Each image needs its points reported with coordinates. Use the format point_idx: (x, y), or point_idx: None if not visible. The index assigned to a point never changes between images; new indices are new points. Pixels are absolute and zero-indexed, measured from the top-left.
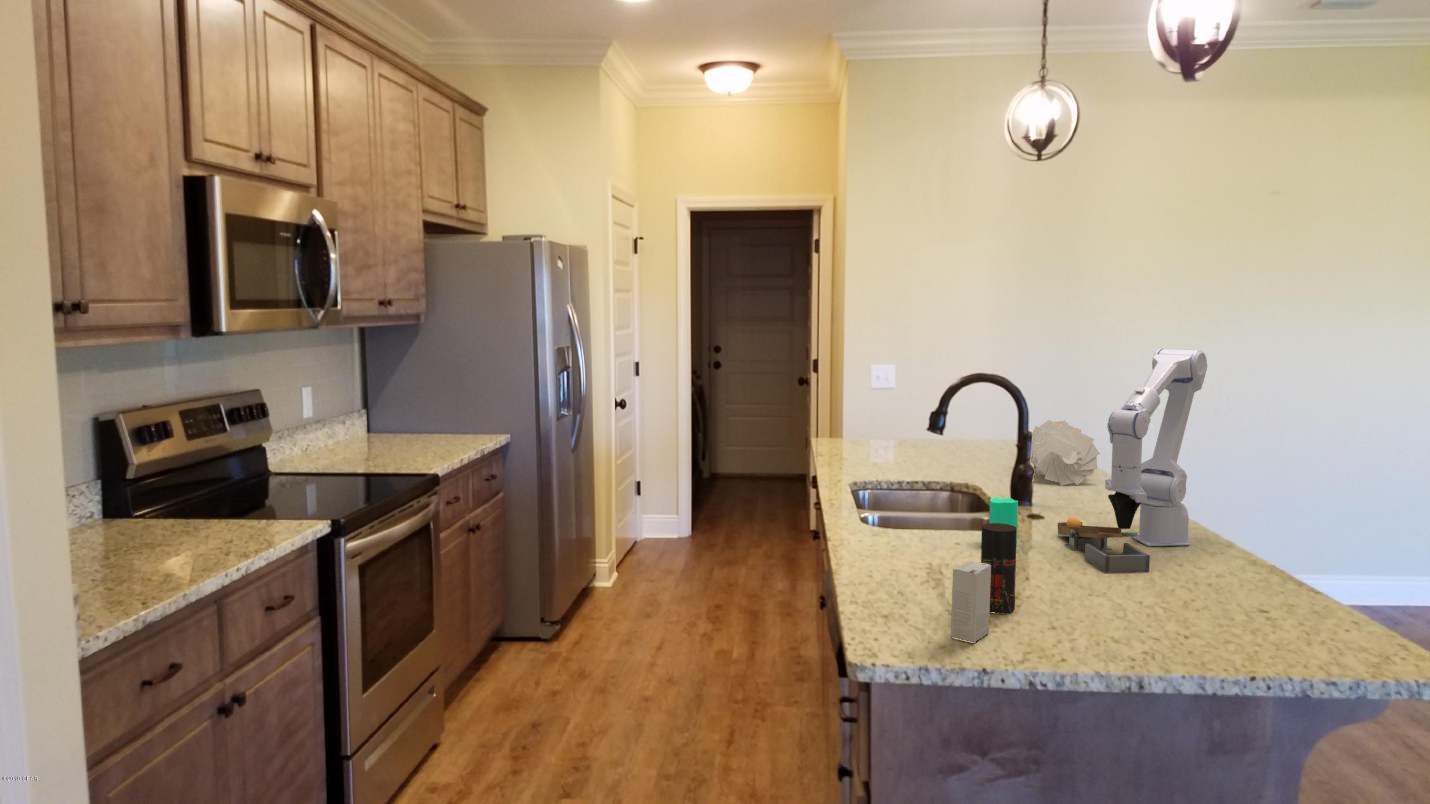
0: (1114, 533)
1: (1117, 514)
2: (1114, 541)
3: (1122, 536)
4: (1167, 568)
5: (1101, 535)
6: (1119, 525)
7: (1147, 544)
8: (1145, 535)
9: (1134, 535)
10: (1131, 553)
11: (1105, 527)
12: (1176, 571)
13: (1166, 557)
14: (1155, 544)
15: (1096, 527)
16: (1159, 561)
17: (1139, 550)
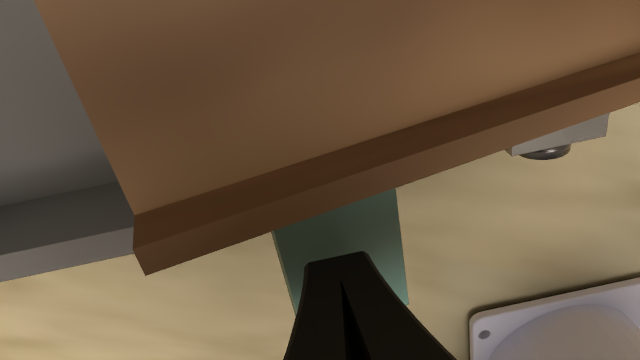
0: (199, 181)
1: (368, 356)
2: (601, 182)
3: (271, 232)
4: (71, 322)
5: (45, 15)
6: (318, 275)
7: (478, 317)
8: (549, 344)
9: (296, 313)
10: (100, 210)
11: (435, 144)
12: (26, 346)
13: (285, 347)
14: (473, 346)
15: (608, 84)
16: (202, 311)
17: (12, 270)
